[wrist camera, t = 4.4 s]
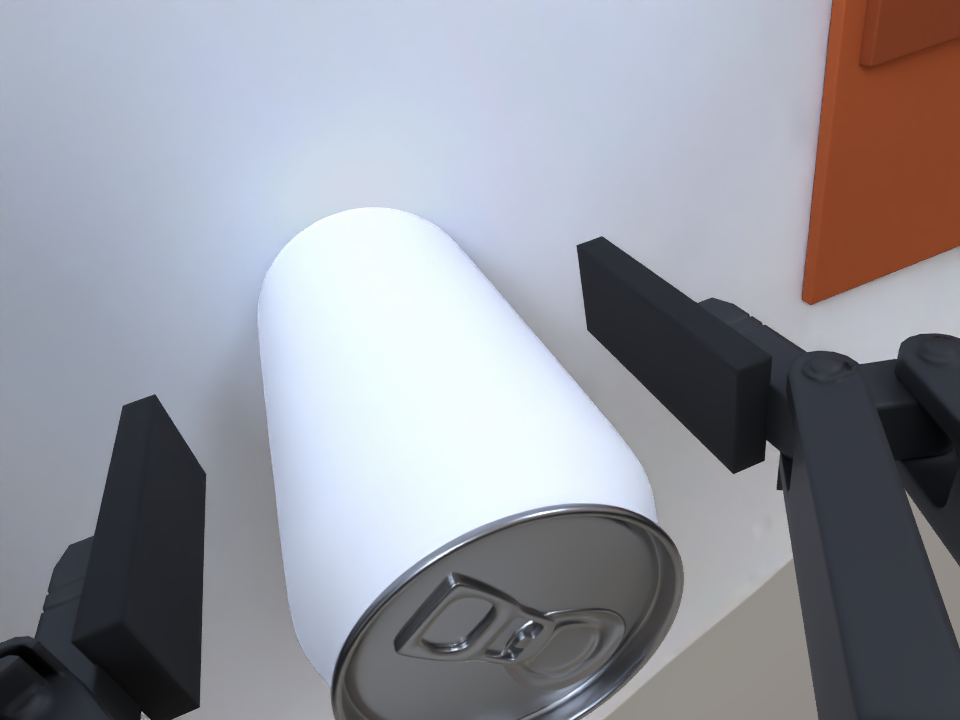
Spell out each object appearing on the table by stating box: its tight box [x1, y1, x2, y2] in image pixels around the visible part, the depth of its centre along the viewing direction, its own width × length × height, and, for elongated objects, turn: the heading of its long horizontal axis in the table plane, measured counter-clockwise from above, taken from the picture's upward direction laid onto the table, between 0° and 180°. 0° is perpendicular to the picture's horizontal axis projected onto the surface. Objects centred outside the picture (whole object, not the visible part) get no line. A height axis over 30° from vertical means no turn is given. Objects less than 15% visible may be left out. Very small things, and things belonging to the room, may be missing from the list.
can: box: [258, 207, 684, 720], centre depth 14 cm, size 6×6×12 cm
